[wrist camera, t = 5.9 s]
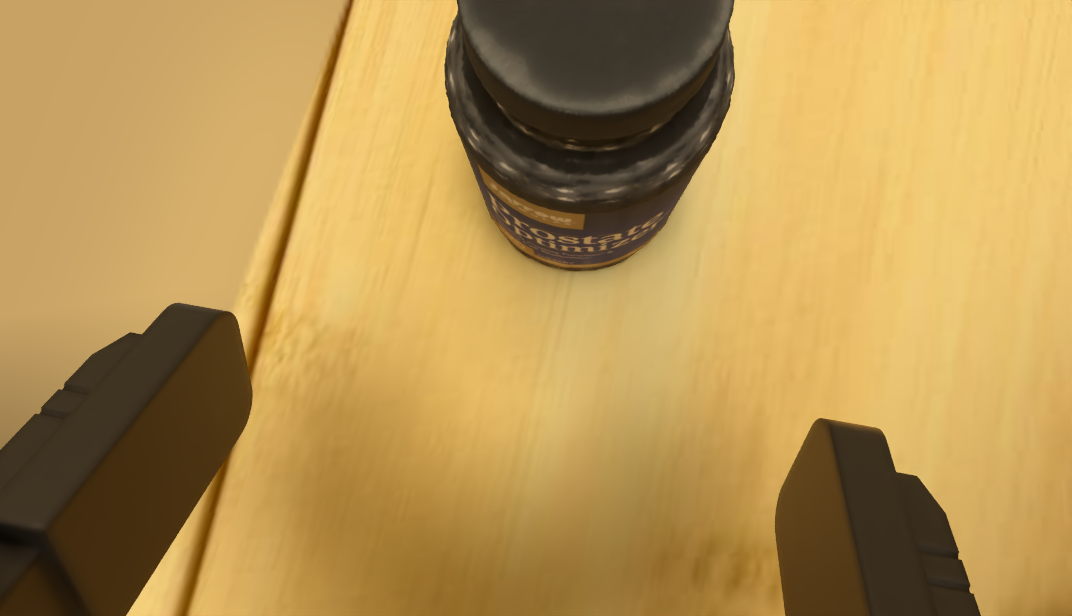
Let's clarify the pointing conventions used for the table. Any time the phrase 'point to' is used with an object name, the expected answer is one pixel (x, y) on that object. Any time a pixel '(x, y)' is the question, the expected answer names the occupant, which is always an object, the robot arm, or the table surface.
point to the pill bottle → (587, 116)
